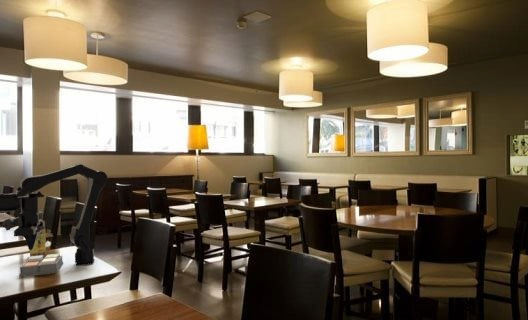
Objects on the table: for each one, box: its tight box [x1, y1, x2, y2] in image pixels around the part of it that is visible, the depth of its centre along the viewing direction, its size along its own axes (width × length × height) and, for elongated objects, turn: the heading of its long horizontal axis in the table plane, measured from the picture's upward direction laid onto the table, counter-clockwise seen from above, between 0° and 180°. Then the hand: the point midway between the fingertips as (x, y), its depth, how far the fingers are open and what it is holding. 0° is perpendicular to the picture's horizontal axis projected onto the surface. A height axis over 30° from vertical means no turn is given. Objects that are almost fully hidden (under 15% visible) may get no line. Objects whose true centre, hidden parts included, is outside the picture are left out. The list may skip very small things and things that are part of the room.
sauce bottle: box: [28, 211, 47, 258], centre depth 167 cm, size 7×6×20 cm
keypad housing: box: [19, 255, 64, 278], centre depth 147 cm, size 12×12×4 cm
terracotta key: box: [23, 262, 40, 267], centre depth 143 cm, size 4×4×2 cm
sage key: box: [45, 253, 61, 259], centre depth 150 cm, size 4×4×2 cm
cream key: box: [41, 258, 57, 265], centre depth 145 cm, size 4×4×2 cm
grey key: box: [27, 255, 44, 262], centre depth 148 cm, size 4×4×2 cm
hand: (30, 249), depth 143 cm, fingers closed
